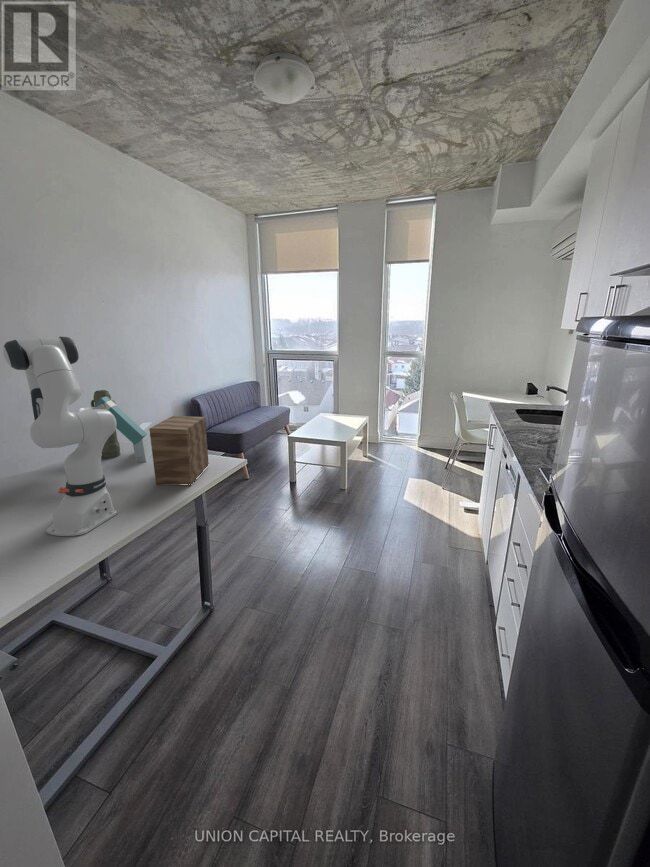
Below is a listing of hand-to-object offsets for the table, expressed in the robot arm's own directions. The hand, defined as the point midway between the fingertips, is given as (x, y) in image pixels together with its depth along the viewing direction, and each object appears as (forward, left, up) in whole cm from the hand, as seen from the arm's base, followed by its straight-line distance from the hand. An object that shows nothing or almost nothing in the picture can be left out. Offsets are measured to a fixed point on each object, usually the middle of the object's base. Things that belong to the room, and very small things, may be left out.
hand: (107, 404), depth 163 cm
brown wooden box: (0, -32, -33) cm, 46 cm away
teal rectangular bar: (0, -3, -10) cm, 10 cm away
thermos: (+22, +17, -34) cm, 44 cm away
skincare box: (+24, -1, -34) cm, 41 cm away
